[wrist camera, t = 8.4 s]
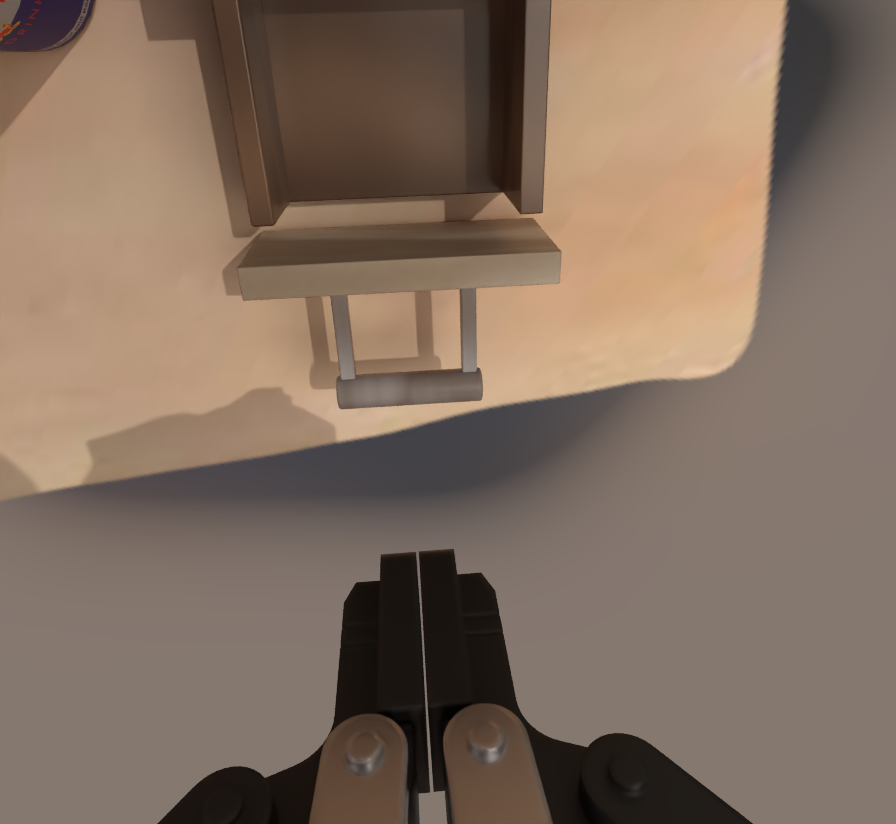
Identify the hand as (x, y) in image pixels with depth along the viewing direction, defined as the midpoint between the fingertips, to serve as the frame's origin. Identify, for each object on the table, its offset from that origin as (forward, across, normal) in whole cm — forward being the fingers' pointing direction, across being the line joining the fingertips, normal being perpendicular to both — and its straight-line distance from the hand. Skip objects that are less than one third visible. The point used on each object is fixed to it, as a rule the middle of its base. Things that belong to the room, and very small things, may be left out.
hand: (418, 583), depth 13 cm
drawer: (+18, 0, -6) cm, 19 cm away
